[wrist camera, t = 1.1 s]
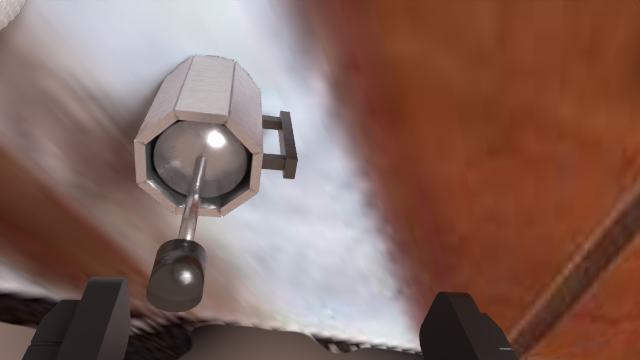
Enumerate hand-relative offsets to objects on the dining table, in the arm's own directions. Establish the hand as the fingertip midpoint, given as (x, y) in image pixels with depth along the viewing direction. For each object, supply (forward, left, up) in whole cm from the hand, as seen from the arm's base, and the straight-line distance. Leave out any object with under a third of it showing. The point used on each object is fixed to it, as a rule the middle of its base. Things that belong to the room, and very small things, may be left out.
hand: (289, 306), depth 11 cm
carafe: (+11, -3, -37) cm, 39 cm away
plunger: (+11, -4, -25) cm, 28 cm away
